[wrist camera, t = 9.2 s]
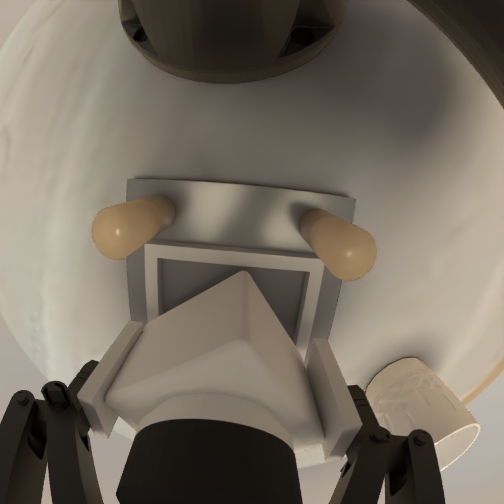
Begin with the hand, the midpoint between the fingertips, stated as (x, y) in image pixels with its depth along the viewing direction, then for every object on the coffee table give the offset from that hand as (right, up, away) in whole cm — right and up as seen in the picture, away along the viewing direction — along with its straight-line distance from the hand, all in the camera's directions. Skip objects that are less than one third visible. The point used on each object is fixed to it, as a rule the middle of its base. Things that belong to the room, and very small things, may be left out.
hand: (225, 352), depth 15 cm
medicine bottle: (0, 0, +2) cm, 2 cm away
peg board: (0, +1, +4) cm, 4 cm away
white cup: (+15, -7, +7) cm, 18 cm away
